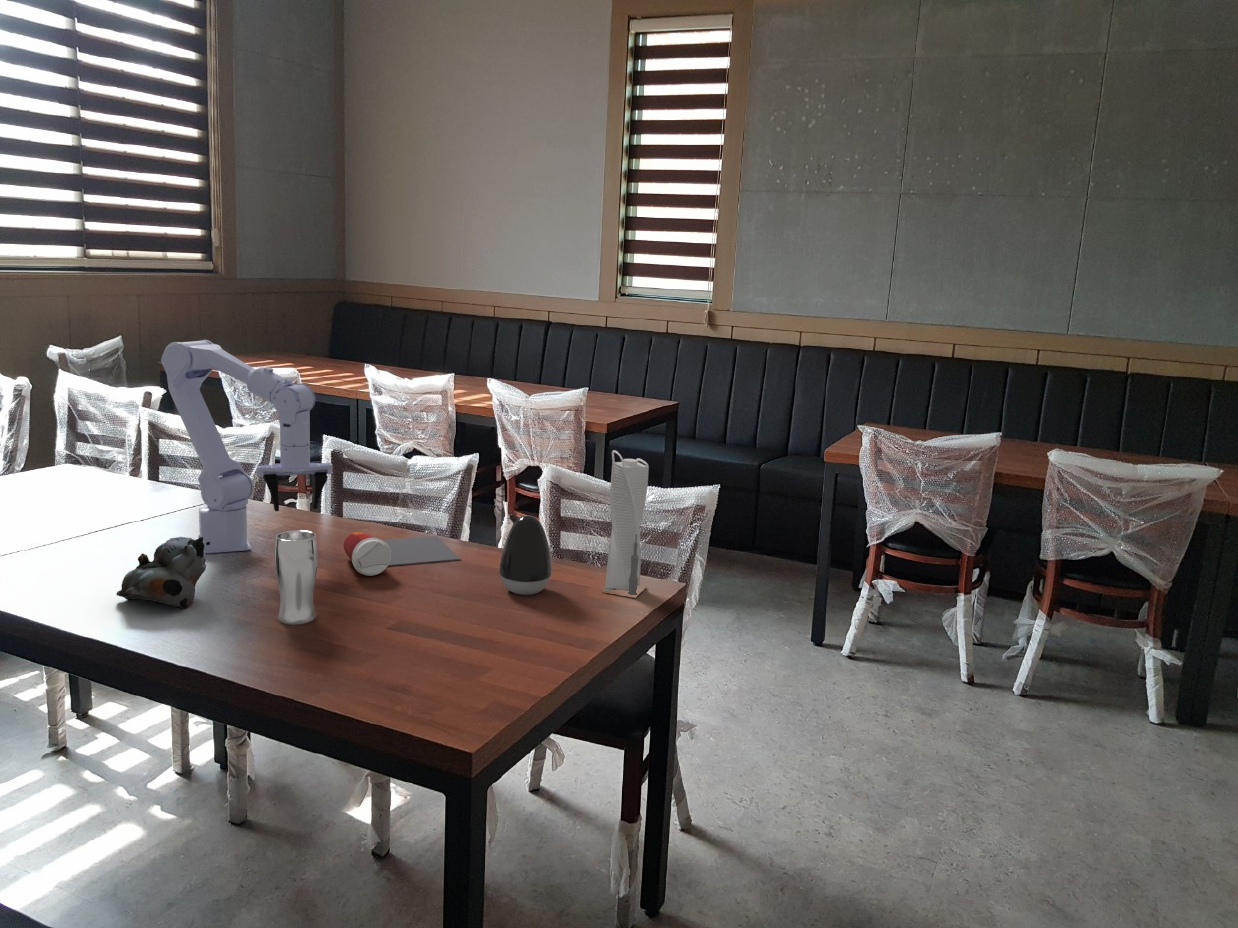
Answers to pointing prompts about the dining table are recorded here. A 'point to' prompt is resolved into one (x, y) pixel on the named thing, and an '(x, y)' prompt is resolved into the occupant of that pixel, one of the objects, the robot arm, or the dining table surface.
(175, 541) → the lucky cat figurine
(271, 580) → the dining table surface
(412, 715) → the dining table surface
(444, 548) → the mat
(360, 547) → the paper cup
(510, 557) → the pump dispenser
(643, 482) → the skyscraper
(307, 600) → the beer glass
